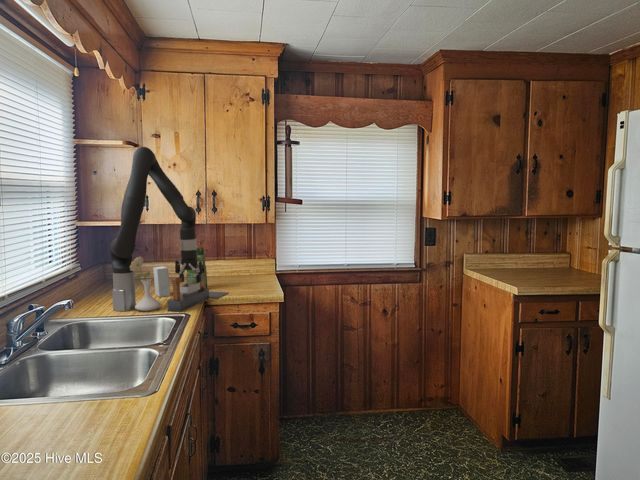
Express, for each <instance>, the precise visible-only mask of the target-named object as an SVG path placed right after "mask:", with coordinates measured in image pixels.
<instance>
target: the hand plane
mask: <svg viewBox="0 0 640 480" xmlns="http://www.w3.org/2000/svg"><path fill="white" fill-rule="evenodd" d="M181 283H183V282H182V278H179V277H176V278H173V279H171V285H172V296H173V297H172V298H170V299H167V312H173V313H174V312H175V313H181V312H185V311H186V310H188V309H190V308H192V307H195V306H197V305H199V304H202V303H204V302H206V301H208V300H210V298H209V291H210V288H209V289H208V288H207V289H204V281H200V289H199V290H197V291H194V292H192V293H189V294H188V293H180V286H181Z"/></svg>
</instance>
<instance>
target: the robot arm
mask: <svg viewBox="0 0 640 480" xmlns="http://www.w3.org/2000/svg"><path fill="white" fill-rule="evenodd" d="M148 177H149V178H150V179H151V180H152V181H153V182H154V184H155V185H156V187H157V188H158V190H159V191H160V193H161V194H162V196H163V197H164V199H165V200H166V201H167V202H168V203H169V205H170V206H171V208H172V210H173V212H174V214H175V215H176V217H177V218H178V219H179V221H181V227H180V228H179V229H180V230H179V236H180V237H179V240H180V241H179V242H180V244H179V249H180V259H181V260H179V259H178V260H175V262H174V264H175V265H174V266H175V267H174V269H175V270H174V272H175V274H177V275H178V276H179V277H178V278H182V282H181V283H184V282H185V274H184V273H185V272H186V271H187V270H193V271H194V272H195V273H196V274H197V275H196V280H197V283H200V281H201V274H203V273H205V270H204V262H203V261H197V246H198V245H197V240H196V239H197V235H196V221H197V216H196V215H197V214H196V211H195V209H194V208H193V207H192V206H190V205H188V204H187V203H186V201H185V200H184V199H185V197H184V195H182V193H181V191H179V189H178V188H177V186H176V185H175V184H174V183H173V182H172V180H171V179H170V178H169V177H168V176H167V174H166V173H165V172H164V170H163V168H162V167H161V166H160V164H159V162H158V160H157V157H156V154H155V153H154V151H152V150H151V149H150V148H149V147H147V146H141V147H138V148H136V150H134V152H133V155H132V163H131V171H130V175H129V180H128V182H127V186H126V189H125V192H124V195H123V199H122V202H121V204H122V205H121V209H120V211H121V213H120V226H119V231H118V233H117V236H116V237H115V238H114V239H113V240H111V243H110V247H109V249H110V250H109V251H110V252H109V254H110V264H111V269H112V282H113V283H112V285H113V289H112V290H111V291H112V292H111V293H112V296H111V297H112V309H113V311H115V312H116V311H117V312H126V311H132V310H136V308H135V305H136V304H137V299H136V297H137V295H136V279H135V277H136V276H135V275H136V274H135V271H131V270H130V269H131V268H129V267H130V265H131V264H132V262H133V261H134V260H133V254H134V252H135V250H136V249H135V248H136V240H137V234H138V228H139V225H140V223H141V219H142V216H143V215H142V214H143V212H144V209H145V208H144V207H145V204H146V197H147V189H148V188H147V186H148V184H147V183H148ZM197 264H198V265H199V268H198V267H197ZM195 268H196V269H195Z"/></svg>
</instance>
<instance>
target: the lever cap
mask: <svg viewBox="0 0 640 480" xmlns="http://www.w3.org/2000/svg"><path fill="white" fill-rule="evenodd" d="M199 289H200V283H187V282H186V283H184V284H183V285H180V294H182V293H188V294H189V293H192V292H194V291H197V290H199Z"/></svg>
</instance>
